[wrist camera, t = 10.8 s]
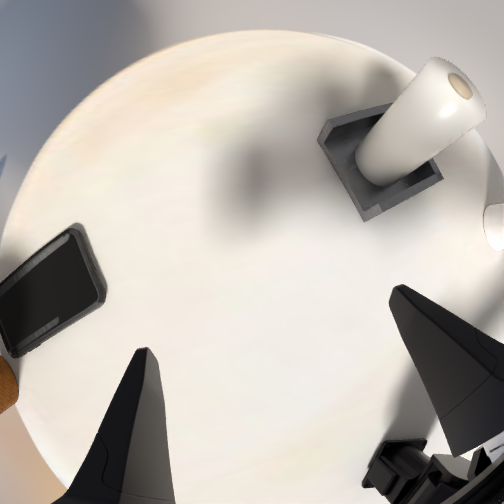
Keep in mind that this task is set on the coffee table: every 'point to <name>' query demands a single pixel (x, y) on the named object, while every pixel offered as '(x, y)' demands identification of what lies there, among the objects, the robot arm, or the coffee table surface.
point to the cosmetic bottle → (495, 225)
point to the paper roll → (420, 123)
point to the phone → (48, 293)
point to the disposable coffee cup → (7, 386)
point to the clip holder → (359, 188)
